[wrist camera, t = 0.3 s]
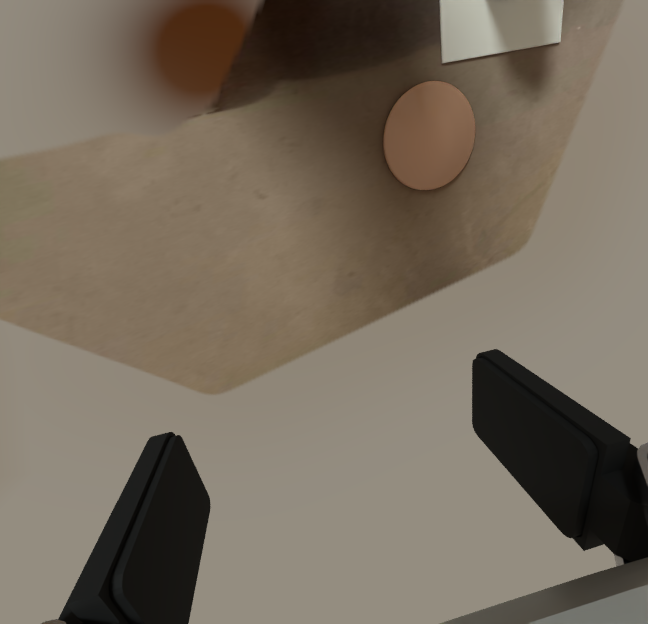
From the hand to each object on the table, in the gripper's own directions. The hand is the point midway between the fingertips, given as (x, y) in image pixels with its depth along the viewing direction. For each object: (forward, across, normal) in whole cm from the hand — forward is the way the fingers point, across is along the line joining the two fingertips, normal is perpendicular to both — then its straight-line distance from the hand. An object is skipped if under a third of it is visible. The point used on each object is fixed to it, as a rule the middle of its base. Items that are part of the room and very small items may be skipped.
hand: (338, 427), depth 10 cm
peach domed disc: (+31, -19, -10) cm, 37 cm away
